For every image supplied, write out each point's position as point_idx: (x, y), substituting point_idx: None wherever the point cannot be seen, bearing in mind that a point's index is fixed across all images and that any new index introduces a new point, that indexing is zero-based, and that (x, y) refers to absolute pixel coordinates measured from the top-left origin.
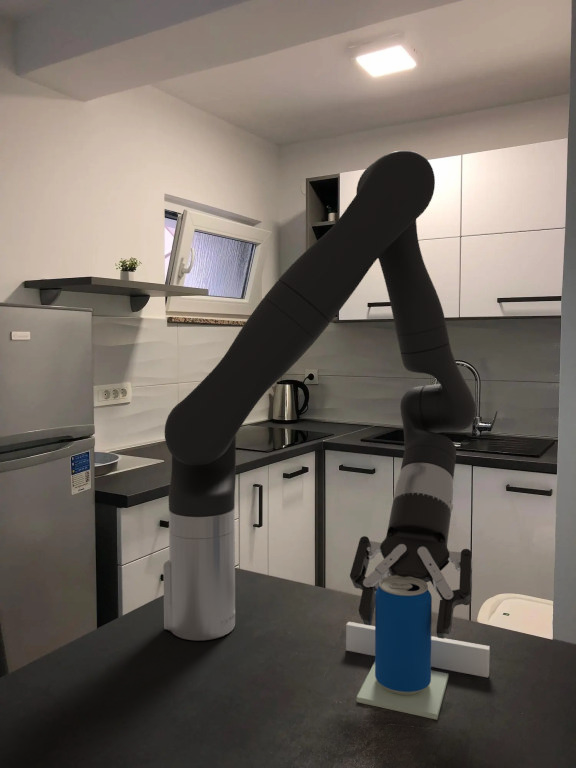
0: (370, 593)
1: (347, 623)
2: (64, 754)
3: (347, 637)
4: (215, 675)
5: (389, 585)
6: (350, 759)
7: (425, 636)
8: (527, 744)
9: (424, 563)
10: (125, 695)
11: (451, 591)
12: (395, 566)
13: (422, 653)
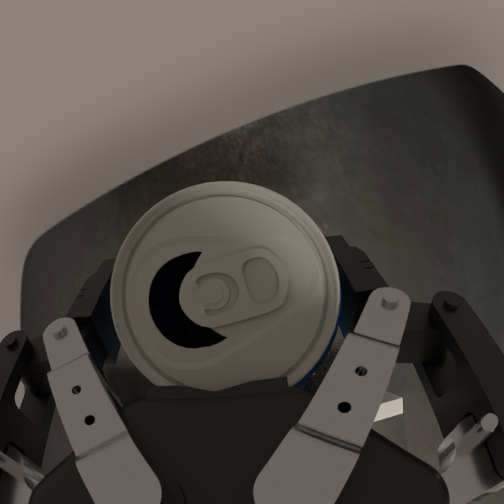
0: (357, 280)
1: (402, 404)
2: (456, 71)
3: (387, 393)
4: (481, 211)
5: (283, 264)
6: (250, 125)
7: (160, 276)
8: (56, 255)
9: (121, 426)
10: (499, 143)
11: (46, 340)
12: (306, 404)
13: (175, 273)
